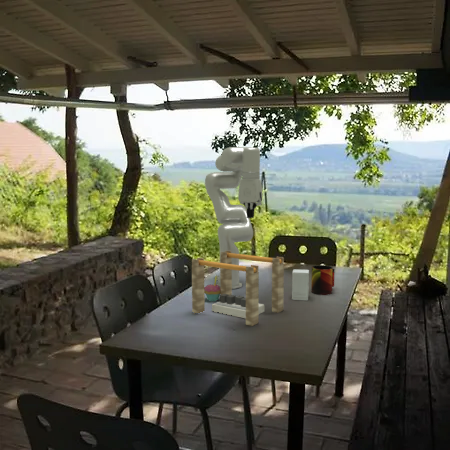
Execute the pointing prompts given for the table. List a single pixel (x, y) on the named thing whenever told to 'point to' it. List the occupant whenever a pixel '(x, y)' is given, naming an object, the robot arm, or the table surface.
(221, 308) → the breaker panel
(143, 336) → the table surface
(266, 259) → the orange cylindrical bar
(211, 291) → the cupcake
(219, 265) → the orange rounded rod
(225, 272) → the wooden post rack
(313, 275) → the mug
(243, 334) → the table surface
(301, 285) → the supplement box
